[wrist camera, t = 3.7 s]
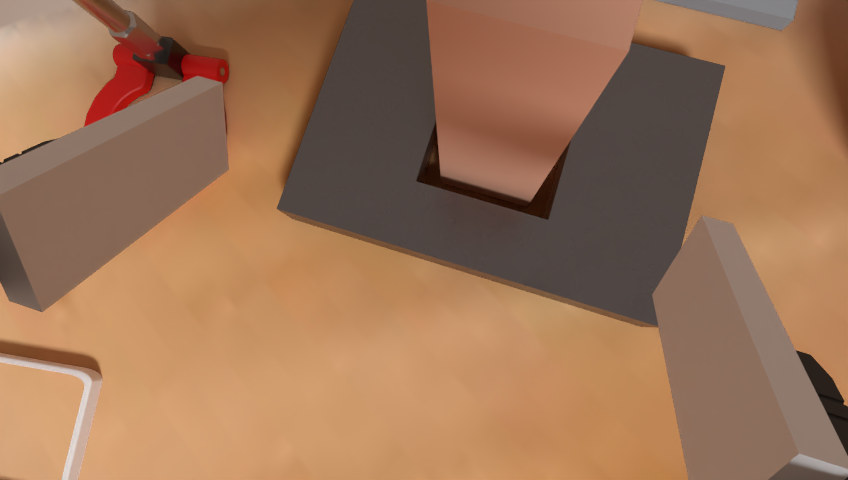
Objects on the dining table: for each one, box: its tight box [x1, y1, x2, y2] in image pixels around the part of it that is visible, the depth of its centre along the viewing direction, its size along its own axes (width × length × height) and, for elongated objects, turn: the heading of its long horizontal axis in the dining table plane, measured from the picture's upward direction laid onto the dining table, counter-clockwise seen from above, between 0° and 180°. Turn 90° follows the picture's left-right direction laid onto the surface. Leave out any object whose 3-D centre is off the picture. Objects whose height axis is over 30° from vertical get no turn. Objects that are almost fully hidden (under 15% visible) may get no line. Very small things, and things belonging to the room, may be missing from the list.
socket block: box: [277, 0, 725, 327], centre depth 27 cm, size 20×14×2 cm
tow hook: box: [73, 0, 229, 127], centre depth 23 cm, size 8×13×9 cm
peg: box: [426, 0, 643, 207], centre depth 20 cm, size 5×5×16 cm
